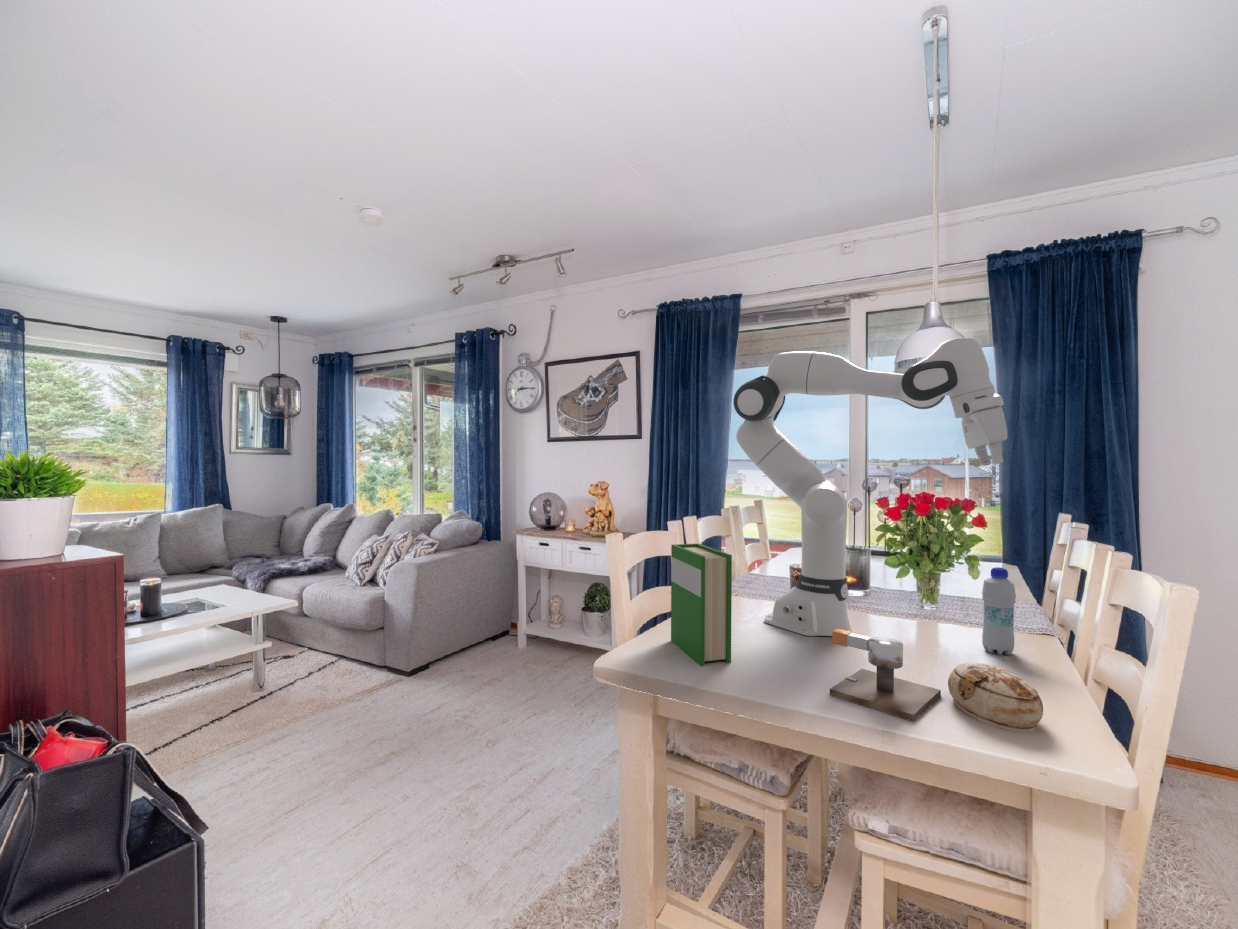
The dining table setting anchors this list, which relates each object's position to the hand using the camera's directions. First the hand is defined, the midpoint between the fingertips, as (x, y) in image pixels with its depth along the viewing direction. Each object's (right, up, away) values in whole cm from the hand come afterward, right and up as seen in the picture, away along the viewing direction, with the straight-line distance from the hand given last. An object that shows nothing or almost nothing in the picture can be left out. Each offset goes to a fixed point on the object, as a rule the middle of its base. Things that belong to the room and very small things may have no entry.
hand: (992, 464), depth 127 cm
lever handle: (-36, -38, -17) cm, 55 cm away
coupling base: (-34, -44, -19) cm, 59 cm away
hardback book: (-66, -44, +5) cm, 79 cm away
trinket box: (-17, -45, -26) cm, 55 cm away
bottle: (+5, -45, +5) cm, 45 cm away
